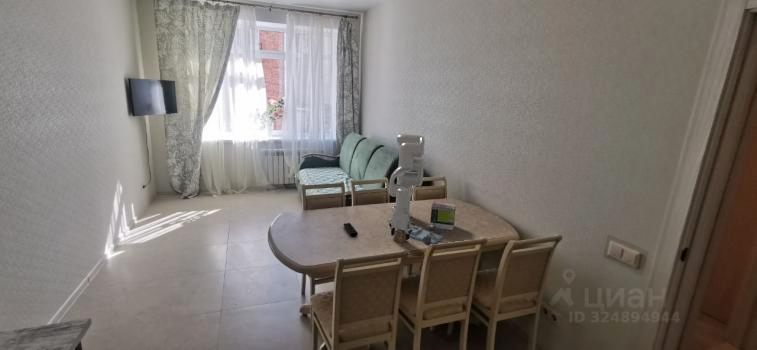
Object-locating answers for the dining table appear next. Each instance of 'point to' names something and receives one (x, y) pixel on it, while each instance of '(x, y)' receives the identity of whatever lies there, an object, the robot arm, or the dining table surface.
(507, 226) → the dining table surface
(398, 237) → the engine block
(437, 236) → the chassis
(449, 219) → the retro computer monitor
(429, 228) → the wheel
